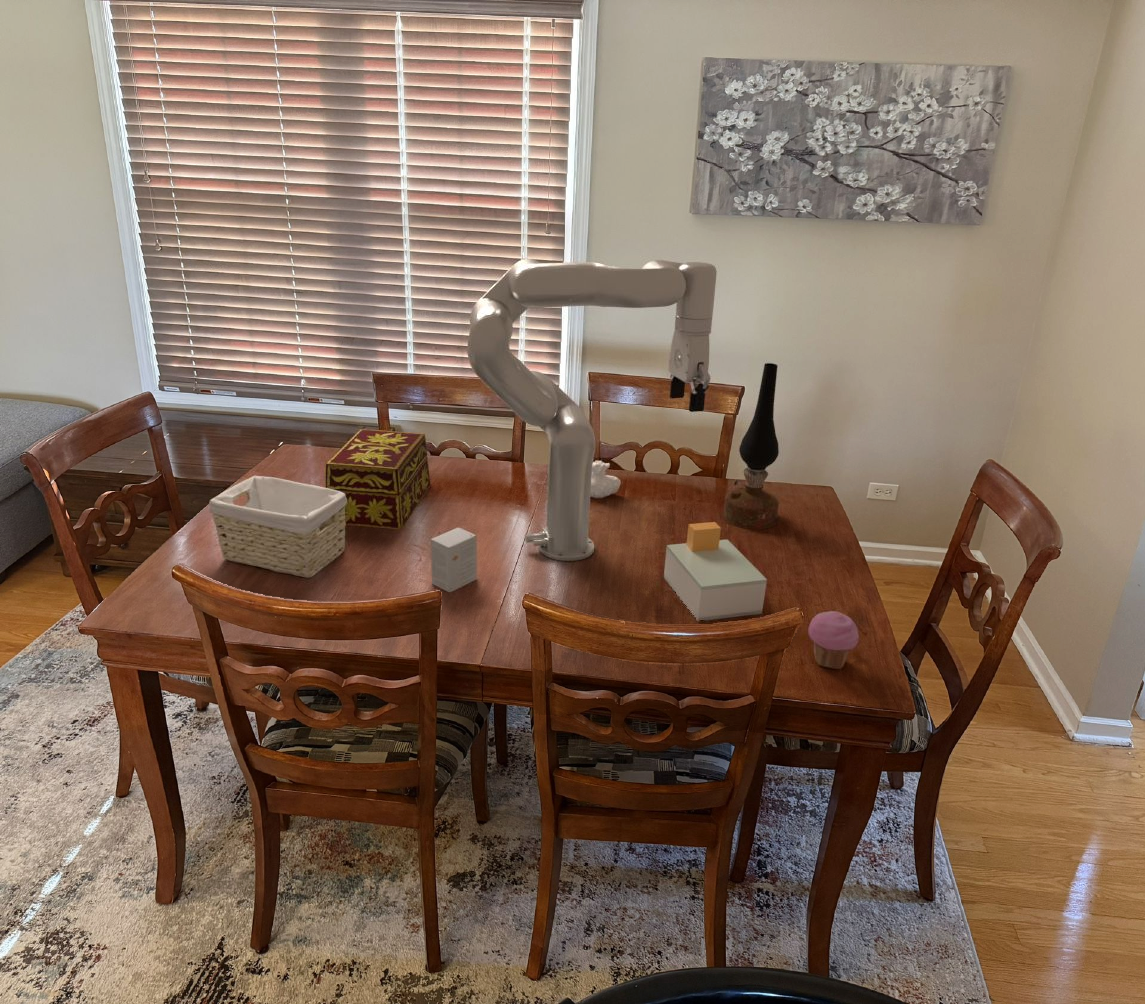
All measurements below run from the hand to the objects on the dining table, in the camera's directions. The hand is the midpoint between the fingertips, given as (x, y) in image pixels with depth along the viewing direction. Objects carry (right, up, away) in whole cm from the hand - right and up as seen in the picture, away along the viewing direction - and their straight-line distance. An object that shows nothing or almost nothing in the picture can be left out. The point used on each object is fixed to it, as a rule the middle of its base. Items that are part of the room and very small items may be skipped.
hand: (686, 404), depth 180 cm
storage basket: (-87, -33, +1) cm, 93 cm away
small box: (-49, -38, -5) cm, 62 cm away
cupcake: (+22, -51, -27) cm, 61 cm away
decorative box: (-72, -22, +29) cm, 81 cm away
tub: (+4, -40, -6) cm, 41 cm away
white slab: (+5, -34, -9) cm, 35 cm away
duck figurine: (-18, -20, +39) cm, 47 cm away
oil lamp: (+20, -25, +31) cm, 44 cm away
